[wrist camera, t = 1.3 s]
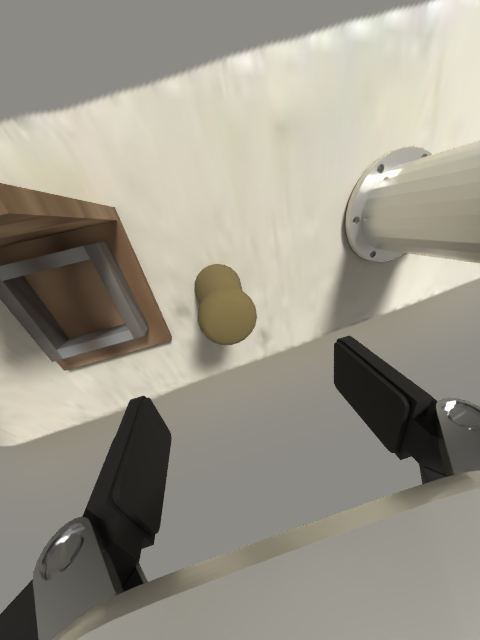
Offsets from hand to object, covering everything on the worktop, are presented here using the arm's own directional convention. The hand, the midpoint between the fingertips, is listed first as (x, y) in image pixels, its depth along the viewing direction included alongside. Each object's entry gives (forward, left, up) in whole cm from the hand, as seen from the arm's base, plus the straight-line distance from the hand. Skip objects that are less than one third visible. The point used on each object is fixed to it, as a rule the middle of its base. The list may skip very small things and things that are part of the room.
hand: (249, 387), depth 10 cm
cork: (0, 0, -18) cm, 18 cm away
